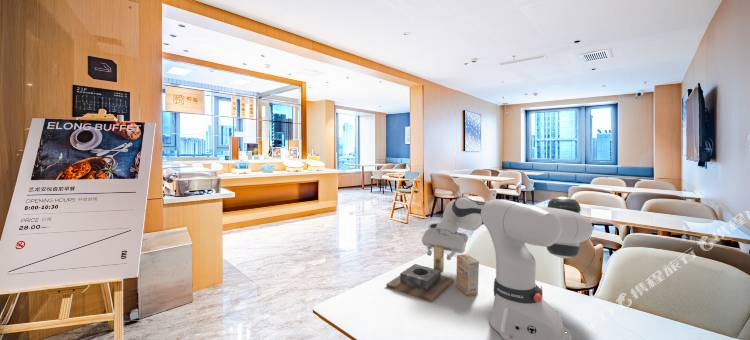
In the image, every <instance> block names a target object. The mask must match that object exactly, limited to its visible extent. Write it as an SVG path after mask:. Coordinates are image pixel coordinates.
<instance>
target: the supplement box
mask: <svg viewBox="0 0 750 340" xmlns="http://www.w3.org/2000/svg"><path fill="white" fill-rule="evenodd" d="M479 266H480V261H479V260H477V259H475V258H474V257H472V256H470V255H469V254H467V253H465V254H464V253H461V254H456V279H455V280H456V284H455V285H456V287H457V288H458V289H459V290H460V291H462V292H464V294H465V295H466V296H473V295H474V296H475V295H478V294H479V272H480V271H479V270H480V269H479V268H480V267H479Z"/></svg>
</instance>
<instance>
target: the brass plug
mask: <svg viewBox="0 0 750 340" xmlns="http://www.w3.org/2000/svg"><path fill="white" fill-rule="evenodd" d="M444 252H445V250H444V246H441V245H435V246H434V248H433V269H436V270H440V271H441V273H443V272H444V270H445V269H444V266H445V265H444V256H445V253H444Z"/></svg>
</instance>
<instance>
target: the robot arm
mask: <svg viewBox="0 0 750 340" xmlns="http://www.w3.org/2000/svg"><path fill="white" fill-rule="evenodd" d="M581 211H582V210H581V205H580V203H579V202H578V201H577V200H576V199H573V198H570V197H567V196H557V197H555V198H551V199H550V200H549V201H548V204H547V206H535V205H532V204H531V205H530V204H526V203H522V202H517V201H512V200H509V199H501V198H500V199H499V198H498V199H490V200H488V201H485V200H479V199H475V198H472V197H470V196H468V195H467V196H460V197H458V198H455V199H452V200H450V201H449V202H448V203H447V205H446V207H445V208H444V211H443V214H442V218H441V220H440V221H439V222H437V223H429V224H428V229H426V231H424V233H423V235H422V238H421V242H422V244H423V246H425V247H426V248H427V253H426V255H428V256H432V253H433V251H431V249H432V248H433V249H434V246H435V245H441V246H444V251H448V252H450V253H449V254H446V260H448V261H451V260H452V258H453V257H454V256H455V255H456V253H458V254H464V253H465V252H466V251H465V250H466V245H467V242H468V240H469V236H468V235H467V234H466V233H462V232H458V230H459V228H460V229H463V230H467V231H475V230H478V229H479V228H480V227H481V225H482V224H483V225H484V226H485V228H486V230H487V231H488V233H489V235H490V238H491V241H492V244H493V248H494V253H495V278H494V279H493V280H494V281H493V296H494V298H493V300H494V301H493V305H492V311H491V312H490V313H491V314H490V316H489V319H488V321H489V325H490V327H492V328H493V329H494V330H495V331H496V332H497V333H498V334H499V335H500V337H501V339H503V340H572V339H573V337H572V334H571V332H570V330H569V328H567V327H566V326H564V324H563V320H562V317H561V314H560V313H559V312H558V310H556V309H555V308H554V307H553V306H551V305H550V304H549V303H548V302H547V301H546V300H545V299H543V286H538V285H537V284H536V270H537V269H536V268H537V267H536V266H537V264H536V259H535V257H534V255H533V253H532V252H531V251H529V249H528V248H527V246H526V245H530V246H531V245H532V246H537V247H545V248H546V250H547V251H548V253H549V254H550V255H553V256H555V257H557V258H560V259H569V258H574V257H577V256H579V252H580V249H581V246H580V243H583V242H585V241H588V240H589V239H590V238H591V236H592V234H593V232H594V231H593V229H594V228H593V223H592V222H591V220H590V219H589V218H587V217H586V216H585V215H583V214H582V213H581ZM565 332H567V333H565Z"/></svg>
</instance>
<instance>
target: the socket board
mask: <svg viewBox="0 0 750 340" xmlns="http://www.w3.org/2000/svg"><path fill="white" fill-rule="evenodd" d="M441 273H442V272H441V271H440V270H436V269H434V267H433V268H432V267H428V266H425V265H420V264H417V263H414V264H412V265H411V266H410V267H408V268H406V269H405V270H404V271H402V272H400V274H399V275H398V276H396V277H395V278H394V279H392V280H390V281H389V282H387V283H386V285H385V286H386V288H389V289H392V290H395V291H397V292H400V293H404V294H406V295H410V296H412V297H416V298H417V299H418V298H419V299H422V300H425V301H428V302H431V303H433V302H434V301H435V300H436V299H438V298H439V296H440V295H441V294H442V293H444V292H445V291H446V290H447V289H448V288H449V287H450V286H451V285H452V284H453V283H454V278H451V277H448V276H443V275H442V274H441Z"/></svg>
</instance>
